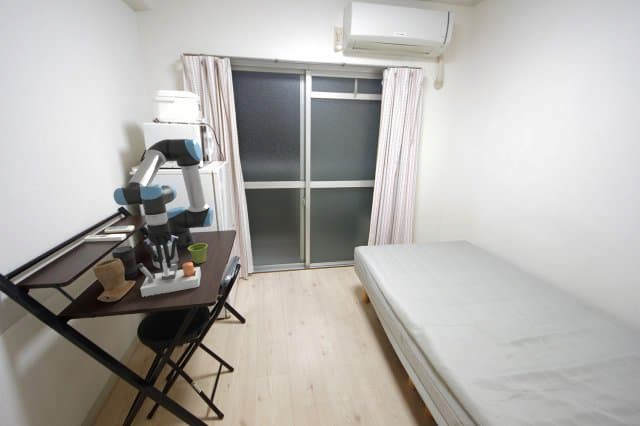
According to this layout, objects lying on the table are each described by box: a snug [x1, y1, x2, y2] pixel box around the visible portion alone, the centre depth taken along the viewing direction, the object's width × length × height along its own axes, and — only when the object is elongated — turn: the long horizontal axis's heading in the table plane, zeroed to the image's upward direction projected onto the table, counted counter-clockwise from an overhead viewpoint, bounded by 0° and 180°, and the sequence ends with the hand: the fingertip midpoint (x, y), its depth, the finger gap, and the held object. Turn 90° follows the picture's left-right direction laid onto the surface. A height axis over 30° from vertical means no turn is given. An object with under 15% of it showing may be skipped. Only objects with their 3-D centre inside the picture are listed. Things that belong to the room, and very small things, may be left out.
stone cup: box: [93, 258, 136, 303], centre depth 109 cm, size 15×12×15 cm
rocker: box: [161, 262, 179, 281], centre depth 115 cm, size 9×5×2 cm, turn 20°
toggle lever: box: [137, 262, 154, 278], centre depth 112 cm, size 3×2×9 cm
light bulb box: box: [151, 241, 179, 270], centre depth 136 cm, size 11×7×11 cm, turn 145°
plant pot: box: [187, 242, 208, 265], centre depth 138 cm, size 9×9×9 cm
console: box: [139, 266, 202, 298], centre depth 117 cm, size 12×22×6 cm, turn 110°
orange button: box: [182, 261, 195, 278], centre depth 118 cm, size 4×4×6 cm
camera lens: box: [111, 245, 139, 281], centre depth 122 cm, size 8×8×15 cm
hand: (167, 274), depth 110 cm, fingers closed
